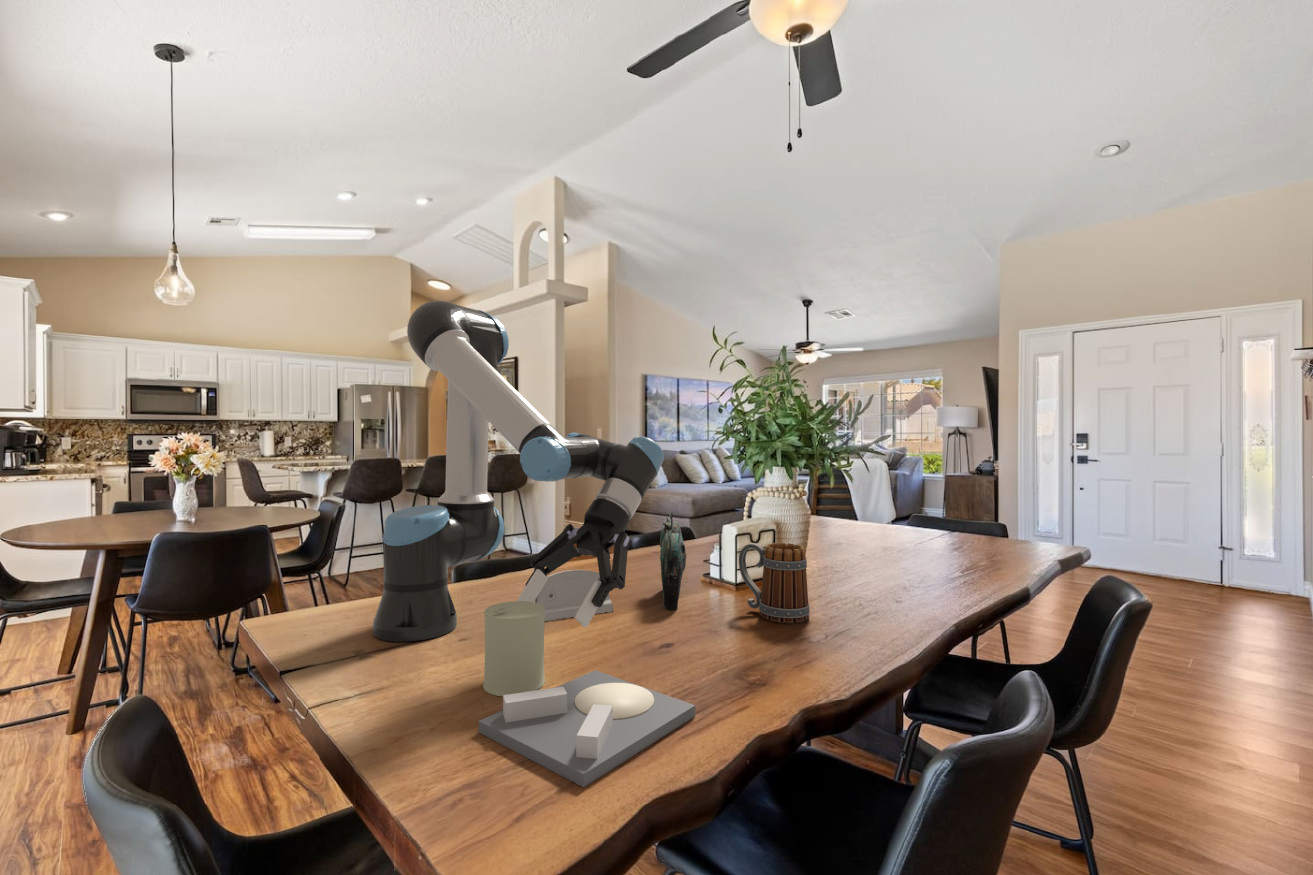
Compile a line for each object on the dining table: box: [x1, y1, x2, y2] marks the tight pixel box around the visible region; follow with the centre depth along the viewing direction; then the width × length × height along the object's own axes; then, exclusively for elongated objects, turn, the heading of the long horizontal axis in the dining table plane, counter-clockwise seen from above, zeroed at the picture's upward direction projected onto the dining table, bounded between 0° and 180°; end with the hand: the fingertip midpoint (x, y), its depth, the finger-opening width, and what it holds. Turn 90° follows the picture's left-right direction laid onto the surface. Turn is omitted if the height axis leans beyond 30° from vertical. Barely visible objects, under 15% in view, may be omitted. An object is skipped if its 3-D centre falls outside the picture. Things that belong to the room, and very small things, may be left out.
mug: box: [738, 542, 811, 625], centre depth 130 cm, size 16×11×15 cm
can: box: [482, 600, 546, 697], centre depth 93 cm, size 9×9×12 cm
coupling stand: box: [478, 669, 696, 788], centre depth 80 cm, size 19×22×4 cm
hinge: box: [534, 569, 614, 622], centre depth 130 cm, size 17×5×10 cm, turn 118°
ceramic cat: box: [659, 511, 687, 611], centre depth 141 cm, size 20×6×20 cm, turn 178°
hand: (549, 614), depth 96 cm, fingers open, 13 cm apart
